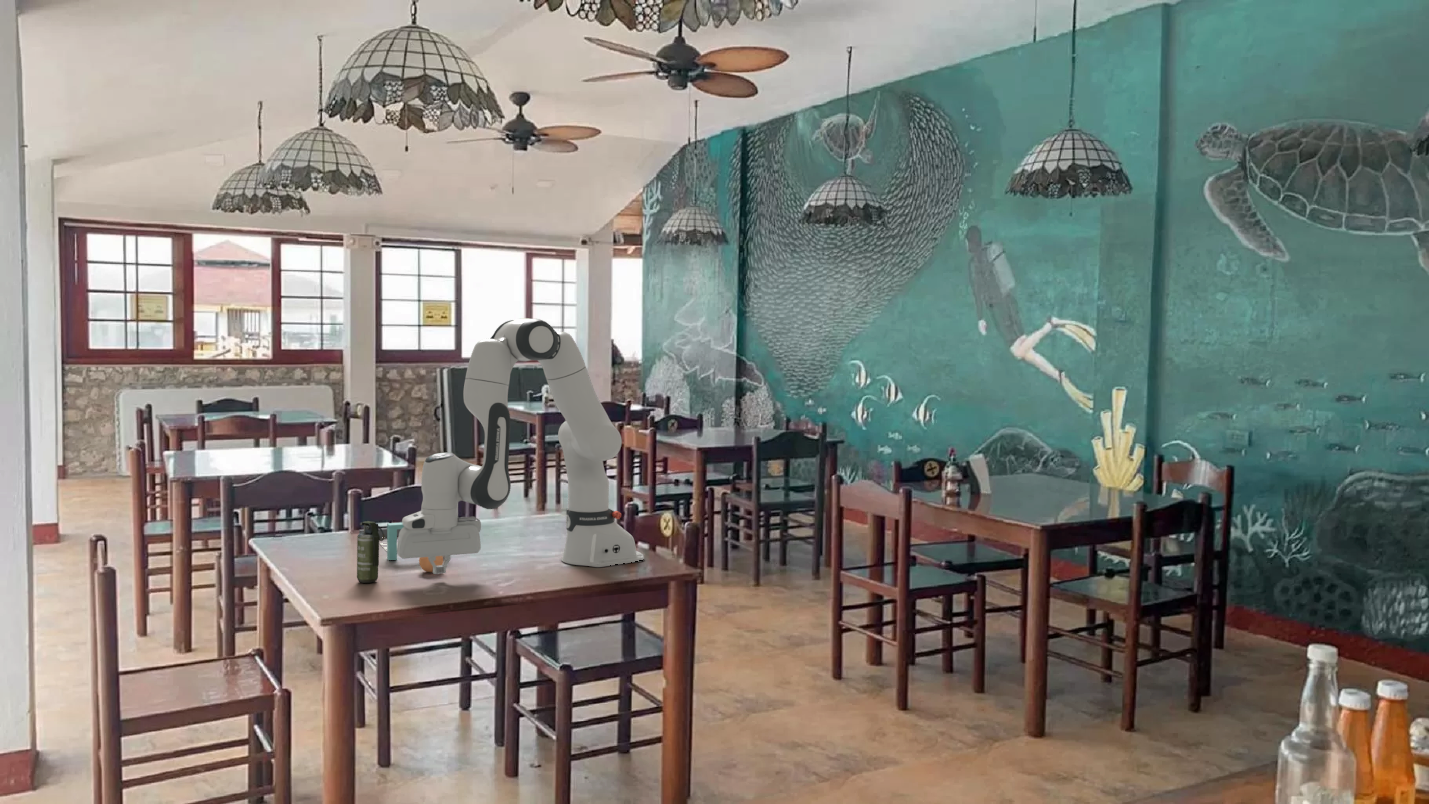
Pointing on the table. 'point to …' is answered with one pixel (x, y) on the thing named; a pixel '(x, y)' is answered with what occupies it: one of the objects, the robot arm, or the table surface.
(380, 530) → the stopper
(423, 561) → the ball
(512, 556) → the table surface
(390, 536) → the bridge
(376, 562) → the grenade
